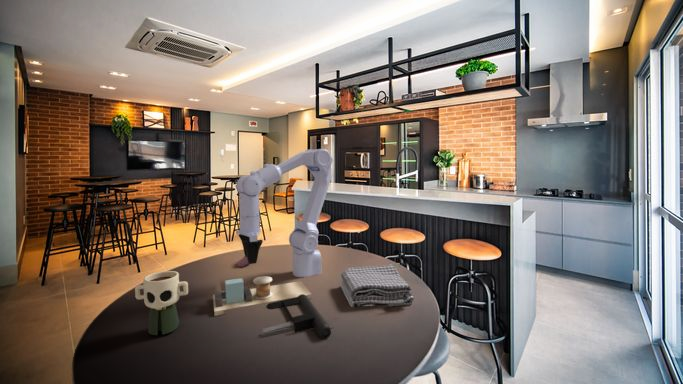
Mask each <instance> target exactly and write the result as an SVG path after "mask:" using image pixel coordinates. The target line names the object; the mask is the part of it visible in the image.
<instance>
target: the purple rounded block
mask: <svg viewBox="0 0 683 384" xmlns="http://www.w3.org/2000/svg"><path fill="white" fill-rule="evenodd" d="M246 265H250V264H249V262H248V259H247V257H245V256H243V258H241V259H240V260H239V261H238V262H237V266H238V267H239V268H241V267H244V266H246Z"/></svg>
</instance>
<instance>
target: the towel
mask: <svg viewBox="0 0 683 384" xmlns="http://www.w3.org/2000/svg"><path fill="white" fill-rule="evenodd" d="M340 276H341V279H342V281H341V282H340V283H341V284H340V288H341V290H342V293H343V295H344V297H345V298H346V300H347V302H348V304H349V305H350V306H349V307H351V308H354V307H355V305H356V306H357V307H360V306H362V307H369V306H370V307H374V306H376V305H380V304H381V305H387V306H388V307H389V308H390V307H397V306H409V305H412V304H413V301H414V298H415V297H414V296H412V287H411V285H409V283H408V282H407V281H406V280H405V279H404V278H403V277H401V275H400V273H399V271H398V270H397V268H396V267H395V266H394V264H385V265H376V266H375V265H374V266H359V267H348V268H346V269H345V270H344V271H343V272H341V275H340Z"/></svg>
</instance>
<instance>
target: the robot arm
mask: <svg viewBox="0 0 683 384" xmlns="http://www.w3.org/2000/svg"><path fill="white" fill-rule="evenodd" d="M333 161H334V159H333V157H332V155H331V153H330V152H329V150H328V149H326V148H318V149H311V148H310V149H306V150H305V151H300V152H298V153H297V154H295V155H293V156H291V157H290V158H287V159H286V160H285V161H282V162H280V163H278V164H277V165H276V164H273V163H270V164H269V163H265V164H264V165H262V166H263V167H262V168H259V169H258V170H255V171H250V172H249V173H250V174H249V175H243V176H241V177H239V179H238V180H237V182H236V184H235V189H236V191H237V192H238V193H239V194H238V195H239V201H238V202H239V204H238V205H239V208H238V209H239V229H237V230H235V234H237V235H238V236H239V239H240V241H241V244H242V248H243V253H244V257H247V259H248V262H249V265H252V264H254V265H255V264H257V262H258V258H259V252H260V248H261V246H262V245H263V243H264V241H263V239H258V236H259V234H260V233H261V227H260V222H261V221H260V193H261V192H262V190H264V189H266V188H267V187H269V186H272V185H273V184H275V183H277V182H279V181H280V180H281V178H282V176H283V175H284V174H286V173H288V172H290V171H293V170H294V169H297V168H299V167H301V166H305V167H306V168H307V170H309V171H310V172H311V174H312V176H313V178H314V181H313V182H312V186H311V189H310V193H309V195H308V198H307V202H306V204H305V206H304V207H305V208H304V211H303V214H302V217H301V220H300V222H298V223H297V224H296V225H295V227H294V229H293V231H292V232H291V233H290V234H289V238H288V242H289V245H290V246H291V247H292V275H293V276H294V277H297V278H309V277H312V276H317V275H318V276H319V275H322V255H321V251H320V250H319V249H317V247H318V245H319V240H318V239H319V238H318V237H319V233H320V232H319V229H318V227H317V224H318V221H319V218H320V215H321V212H322V208H323V206H324V203H325V199H326V196H327V193H328V191H329V186H330V183H331V180H332V164H333Z"/></svg>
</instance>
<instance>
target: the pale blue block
mask: <svg viewBox="0 0 683 384" xmlns="http://www.w3.org/2000/svg"><path fill="white" fill-rule="evenodd" d="M244 283H245V282H244V279H243V277H242V278H241V277H240V278H234V279H227V280H224V284H225V285H224V286H225V287H224V288H225V289H224V291H225V294H226V304H232V303H238V302H244V288H245V285H244Z"/></svg>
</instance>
